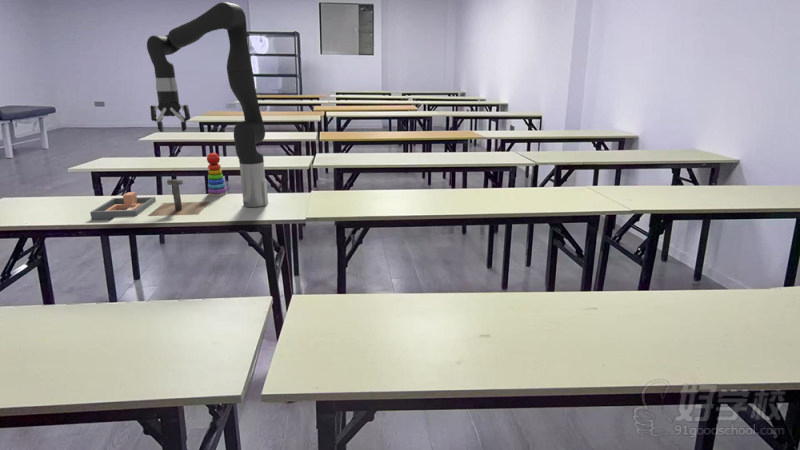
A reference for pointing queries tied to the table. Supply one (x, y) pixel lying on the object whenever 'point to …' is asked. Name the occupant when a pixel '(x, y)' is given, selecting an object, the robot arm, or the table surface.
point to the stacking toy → (215, 176)
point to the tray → (106, 215)
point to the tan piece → (126, 202)
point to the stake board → (185, 207)
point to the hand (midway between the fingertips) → (172, 131)
